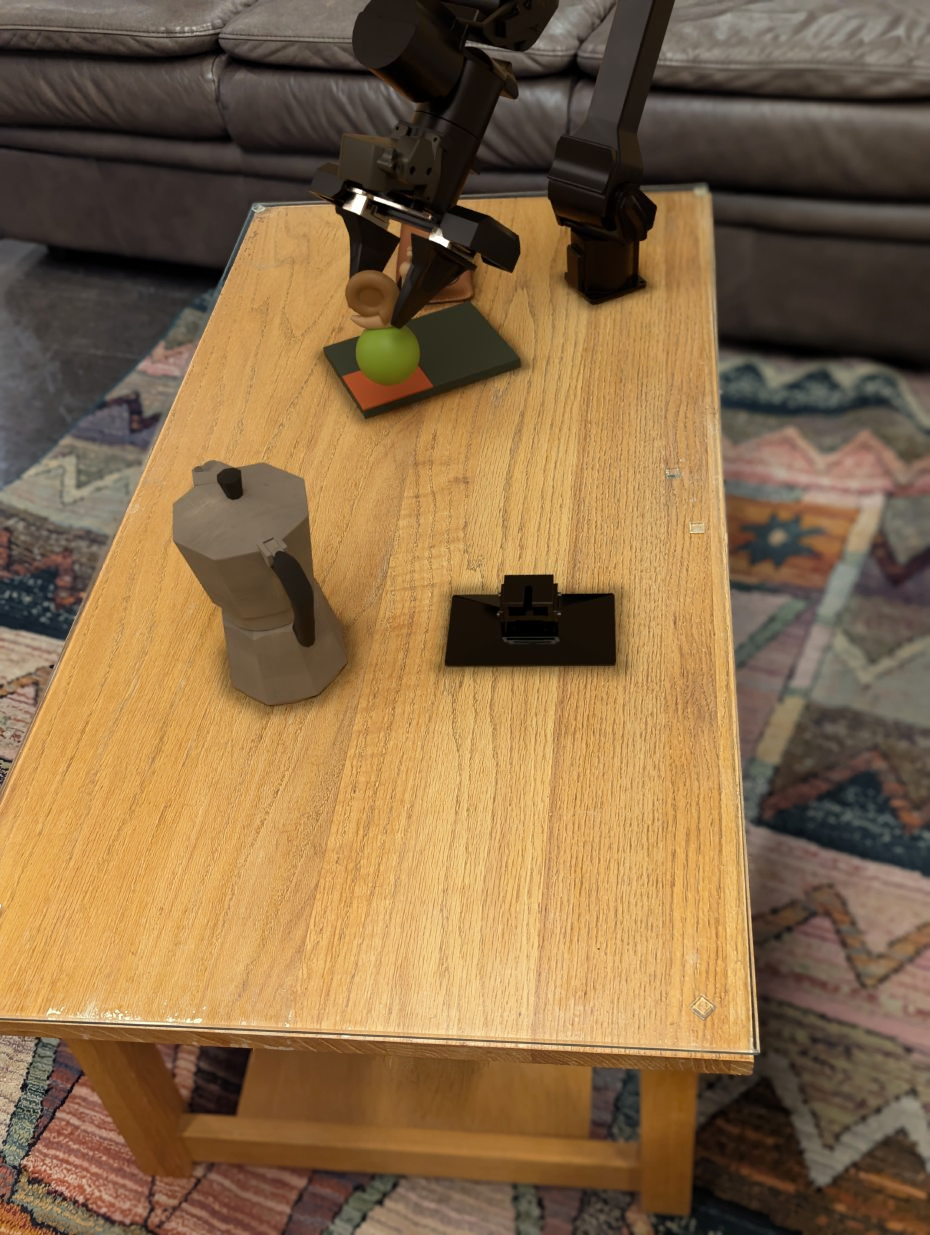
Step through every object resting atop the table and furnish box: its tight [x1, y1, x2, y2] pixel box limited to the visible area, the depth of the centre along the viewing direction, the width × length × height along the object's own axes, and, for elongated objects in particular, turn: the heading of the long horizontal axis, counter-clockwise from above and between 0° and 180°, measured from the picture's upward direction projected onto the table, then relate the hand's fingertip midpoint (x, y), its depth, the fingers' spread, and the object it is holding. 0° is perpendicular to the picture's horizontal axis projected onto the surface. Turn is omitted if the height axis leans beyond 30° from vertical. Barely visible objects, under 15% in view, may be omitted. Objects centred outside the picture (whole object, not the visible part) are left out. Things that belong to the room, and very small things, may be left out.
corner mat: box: [322, 300, 522, 420], centre depth 105 cm, size 16×12×1 cm
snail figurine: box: [344, 246, 420, 386], centre depth 89 cm, size 5×6×12 cm
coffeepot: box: [172, 459, 348, 706], centre depth 73 cm, size 15×9×18 cm, turn 33°
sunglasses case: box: [395, 212, 475, 306], centre depth 117 cm, size 18×7×7 cm
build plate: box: [444, 573, 617, 668], centre depth 79 cm, size 12×7×5 cm, turn 86°
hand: (373, 318), depth 88 cm, fingers closed on snail figurine, 4 cm apart
